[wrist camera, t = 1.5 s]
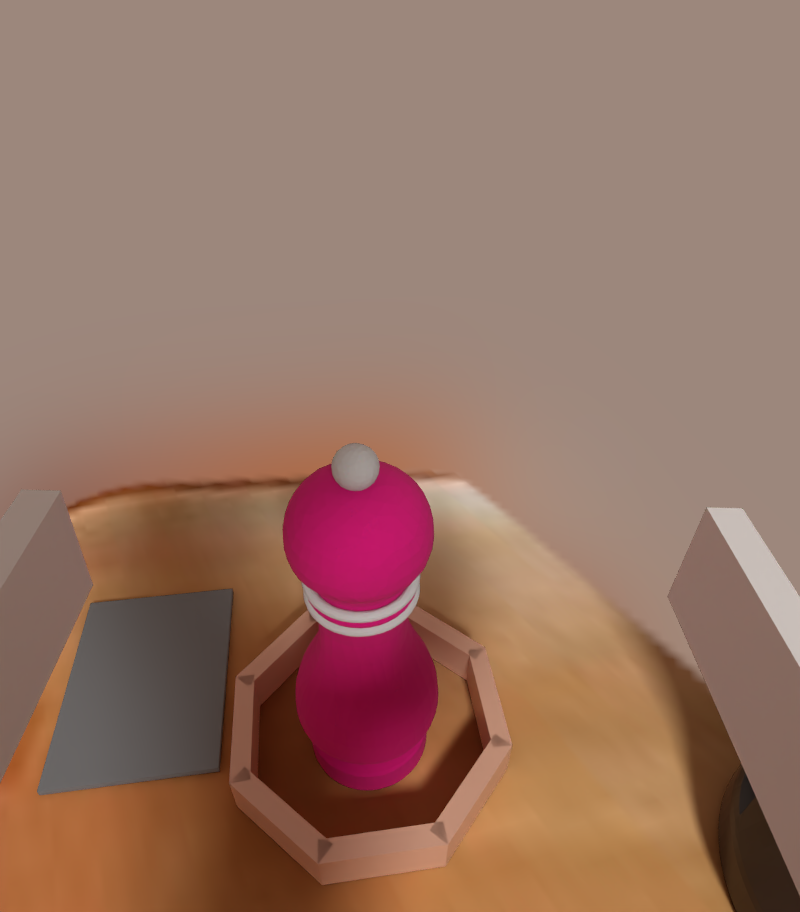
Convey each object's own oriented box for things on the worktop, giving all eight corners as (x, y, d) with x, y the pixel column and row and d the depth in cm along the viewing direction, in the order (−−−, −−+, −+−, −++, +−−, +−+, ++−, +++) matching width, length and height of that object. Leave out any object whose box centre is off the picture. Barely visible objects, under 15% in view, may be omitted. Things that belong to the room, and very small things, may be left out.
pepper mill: (422, 816, 33) (436, 534, 20) (284, 785, 34) (218, 500, 21) (444, 688, 38) (467, 404, 26) (325, 665, 40) (292, 383, 27)
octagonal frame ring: (466, 616, 42) (469, 591, 41) (529, 853, 32) (536, 831, 30) (245, 641, 41) (239, 615, 39) (231, 899, 30) (222, 878, 28)
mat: (233, 592, 44) (232, 588, 44) (219, 771, 35) (218, 767, 34) (92, 607, 43) (90, 603, 43) (39, 795, 34) (37, 791, 33)
